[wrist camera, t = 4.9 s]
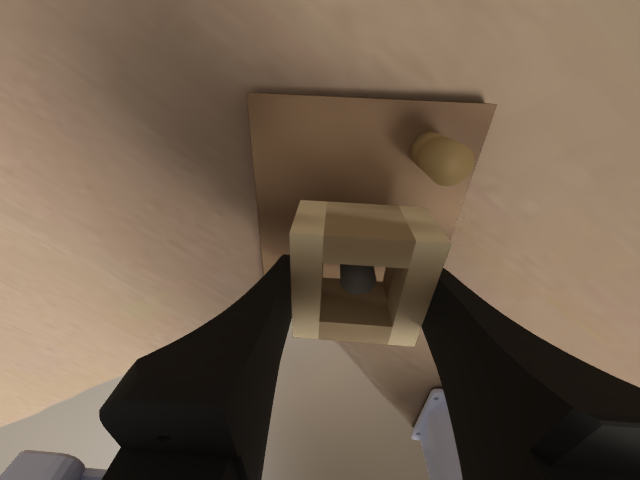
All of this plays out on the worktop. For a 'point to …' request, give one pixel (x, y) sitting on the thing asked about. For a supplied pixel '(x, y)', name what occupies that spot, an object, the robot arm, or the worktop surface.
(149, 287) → the worktop surface
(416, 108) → the post board
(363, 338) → the ring
